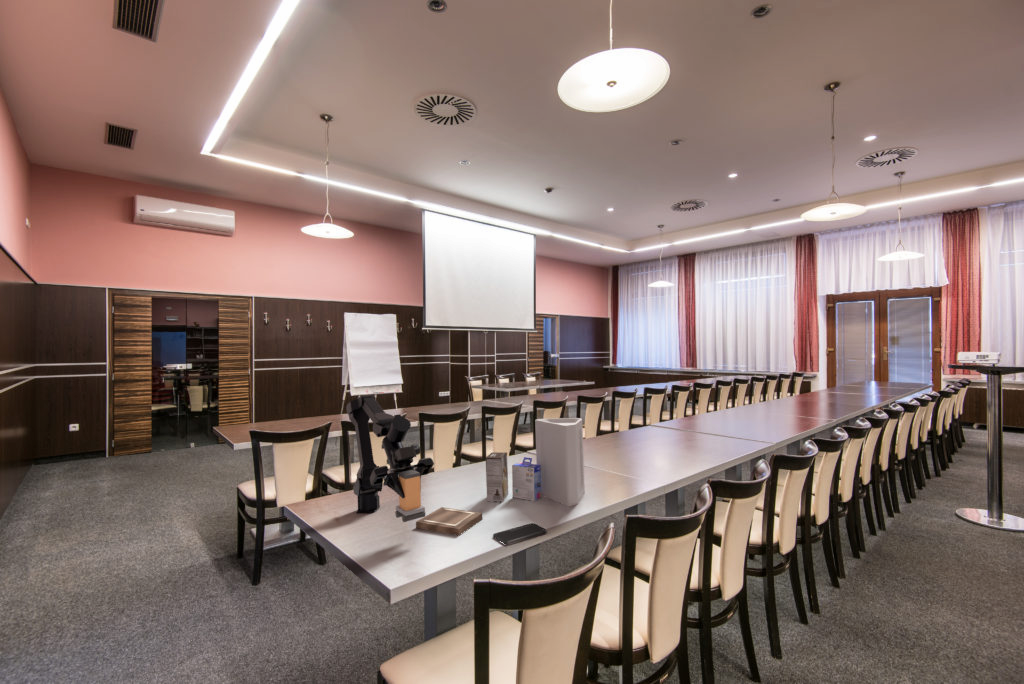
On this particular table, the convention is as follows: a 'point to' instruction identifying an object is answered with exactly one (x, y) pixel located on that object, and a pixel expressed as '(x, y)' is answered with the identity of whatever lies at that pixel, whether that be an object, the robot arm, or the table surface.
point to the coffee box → (497, 476)
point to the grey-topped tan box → (410, 497)
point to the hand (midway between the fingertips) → (411, 495)
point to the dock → (449, 520)
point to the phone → (520, 533)
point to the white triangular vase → (561, 459)
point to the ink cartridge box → (526, 480)
